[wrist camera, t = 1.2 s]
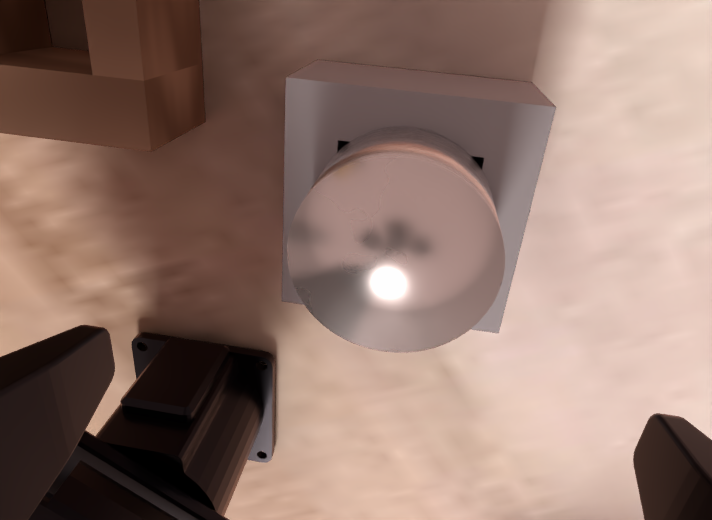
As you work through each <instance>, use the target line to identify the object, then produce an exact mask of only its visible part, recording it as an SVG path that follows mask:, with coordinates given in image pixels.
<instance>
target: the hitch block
mask: <svg viewBox="0 0 712 520" xmlns="http://www.w3.org/2000/svg"><path fill="white" fill-rule="evenodd" d="M82 5H83V12H84V19H85V26H86V33H87V39H88V46H89V51H86V50H77V49H67V48H58V47H52V43H51V37H50V32H49V26H48V20H47V15H46V9H45V3H44V0H0V133H6V134H13V135H21V136H29V137H37V138H45V139H53V140H61V141H69V142H77V143H85V144H93V145H101V146H109V147H117V148H125V149H133V150H141V151H149V152H152V151H154V150H155V149H157V148H159V147H161V146H163V145H164V144H166V143H168V142H170V141H172V140H173V139H175V138H177V137H179V136H181V135H182V134H184V133H186V132H188V131H190V130H191V129H193V128H195V127H197V126H199V125H200V124H202V123H204V122H205V107H204V88H203V69H202V50H201V31H200V12H199V0H82Z"/></svg>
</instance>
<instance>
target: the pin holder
mask: <svg viewBox="0 0 712 520" xmlns="http://www.w3.org/2000/svg"><path fill="white" fill-rule="evenodd" d="M555 109H556V106H555V105H554V104H553V103H552V102H551V101H550V100H549V99H548V98H547V97H546V96H545V95H544V94H543V93H542V92H541V91H540V90H539V89H538V88H537V87H536V86H535V85H534V84H533V83H532V82H522V81H513V80H504V79H494V78H485V77H475V76H466V75H456V74H447V73H437V72H428V71H419V70H409V69H400V68H390V67H381V66H371V65H362V64H352V63H343V62H333V61H324V60H316V61H314V62H312V63H311V64H309V65H307V66H305V67H303V68H302V69H300V70H298V71H296V72H295V73H293V74H291V75H289V76H287V77H286V89H285V145H284V202H283V258H282V301H284V302H291V303H297V304H304V303H303V302H302V300H301V299H300V297H299V295H298V293H297V291H296V289H295V287H294V285H293V282H292V279H291V276H290V272H289V267H288V262H287V243H288V235H289V231H290V227H291V223H292V221H293V219H294V216H295V214H296V212H297V210H298V208H299V207H300V205H301V203H302V202H303V200H304V198H305V197H306V195H307V194H308V192H309V191H310V189H311V188H312V186H313V185H314V183H315V182H316V180H317V179H318V177H319V176H320V174H321V173H322V171H323V170H324V168H325V167H326V165H327V164H328V162H329V161H330V160H331V159H332V157H333V156H334V155H335V154H336V153H337V152H338V151H339V150H340V149H341V148H342V147H343V146H345V145H346V144H348V143H349V142H350V141H352V140H353V139H355V138H357V137H359V136H361V135H363V134H365V133H368V132H371V131H373V130H377V129H381V128H386V127H395V126H409V127H418V128H423V129H427V130H430V131H433V132H437V133H439V134H441V135H443V136H445V137H447V138H450V139H451V140H453V141H454V142H456V143H457V144H459V145H460V146H461V147H462V148H464V149H465V150H466V151H467V152H468V153H469V154H470V155H471V156H472V157H473V158H474V160H475V161H476V162H477V163H478V165H479V166H480V168H481V169H482V171H483V172H484V174H485V176H486V179H487V181H488V183H489V186H490V189H491V193H492V196H493V200H494V204H495V209H496V213H497V217H498V221H499V225H500V229H501V233H502V237H503V242H504V249H505V270H504V276H503V281H502V284H501V287H500V290H499V293H498V295H497V297H496V299H495V301H494V303H493V304H492V306H491V307H490V309H489V310H488V311H487V313H486V314H485V315H484V316H483V317H482V319H481V320H480V321H479V322H478V323H477V324H476V325H475V326H473V327H472V328H471V329H472V330H479V331H485V332H492V333H499V330H500V326H501V322H502V318H503V314H504V310H505V306H506V302H507V298H508V294H509V290H510V286H511V282H512V279H513V275H514V271H515V267H516V263H517V259H518V255H519V251H520V247H521V243H522V239H523V235H524V231H525V227H526V223H527V219H528V215H529V212H530V208H531V204H532V200H533V196H534V192H535V188H536V184H537V180H538V176H539V172H540V168H541V164H542V160H543V156H544V152H545V149H546V145H547V141H548V137H549V133H550V129H551V125H552V121H553V117H554V113H555Z"/></svg>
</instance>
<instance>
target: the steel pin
mask: <svg viewBox="0 0 712 520" xmlns="http://www.w3.org/2000/svg"><path fill="white" fill-rule="evenodd" d="M287 262H288V267H289V272H290V276H291V279H292V282H293V285H294V287H295V289H296V291H297V293H298V295H299V297H300V299H301V300H302V302H303V303H304V305H305V306H306V308H307V309H308V310H309V311H310V312H311V313H312V315H313V316H314V317H315V318H316V319H317V320H318V321H319V322H320V323H322V324H323V325H324V326H325V327H326V328H328V329H329V330H331V331H332V332H333V333H335V334H337V335H338V336H340V337H342V338H343V339H345V340H347V341H350V342H352V343H354V344H357V345H360V346H363V347H366V348H369V349H374V350H378V351H385V352H416V351H422V350H427V349H431V348H435V347H438V346H441V345H443V344H446V343H448V342H450V341H452V340H454V339H456V338H458V337H460V336H461V335H463V334H464V333H466V332H467V331H469V330H470V329H471V328H472V327H473V326H475V325H476V324H477V323H478V322H479V321H480V320H481V319H482V317H483V316H484V315H485V314H486V313H487V311H488V310H489V309H490V307H491V306H492V304H493V303H494V301H495V299H496V297H497V295H498V293H499V290H500V287H501V284H502V281H503V276H504V270H505V249H504V242H503V237H502V233H501V229H500V225H499V221H498V217H497V213H496V209H495V204H494V200H493V196H492V193H491V189H490V186H489V183H488V181H487V179H486V176H485V174H484V172H483V171H482V169H481V168H480V166H479V165H478V163H477V162H476V161H475V160H474V158H473V157H472V156H471V155H470V154H469V153H468V152H467V151H466V150H465V149H464V148H462V147H461V146H460V145H459V144H457V143H456V142H454V141H453V140H451V139H450V138H447V137H445V136H443V135H441V134H439V133H437V132H433V131H430V130H427V129H423V128H418V127H409V126H395V127H386V128H381V129H377V130H373V131H371V132H368V133H365V134H363V135H361V136H359V137H357V138H355V139H353V140H352V141H350V142H349V143H348V144H346V145H345V146H343V147H342V148H341V149H340V150H339V151H338V152H337V153H336V154H335V155H334V156H333V157H332V159H331V160H330V161H329V162H328V164H327V165H326V167H325V168H324V170H323V171H322V173H321V174H320V176H319V177H318V179H317V180H316V182H315V183H314V185H313V186H312V188H311V189H310V191H309V192H308V194H307V195H306V197H305V198H304V200H303V202H302V203H301V205H300V207H299V208H298V210H297V212H296V214H295V216H294V219H293V221H292V223H291V227H290V231H289V235H288V243H287Z"/></svg>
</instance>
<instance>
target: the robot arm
mask: <svg viewBox="0 0 712 520" xmlns="http://www.w3.org/2000/svg"><path fill="white" fill-rule="evenodd" d="M142 342H143V343H145V344H146V345H147V346H146V345H144V344H143V343H142ZM132 351H133V358H134V365H135V372H136V381H135V382H134V383H133V385H132V386H131V387H130V388H129V390H128V391H127V392H126V393H125V395H124V396H123V397H122V399H121V401H120V402H121V404H120V405H119V406H118V408H117V409H116V410H115V412H114V413H113V414H112V415H111V417H110V418H109V419H108V421H107V422H106V423H105V424H104V426H103V427H102V428H101V430H100V431H99V432H98V433H97V435H96V436H94V435H92V434H91V433H89V432H87V431H86V430H85V429H86V428H87V426H88V424H89V422H90V420H91V418H92V416H93V415H94V413H95V411H96V409H97V407H98V405H99V403H100V402H101V400H102V398H103V396H104V394H105V392H106V390H107V388H108V387H109V385H110V383H111V381H112V379H113V376H114V372H115V363H114V357H113V351H112V345H111V339H110V334H109V332H108V331H107V329H105V328H103V327H97V326H90V325H80V326H77V327H75V328H72V329H70V330H67V331H65V332H62V333H60V334H57V335H55V336H52V337H50V338H47V339H45V340H42V341H40V342H37V343H35V344H32V345H29V346H27V347H24V348H22V349H19V350H17V351H14V352H12V353H9V354H7V355H4V356H2V357H0V520H229V519H227V518H226V517H224V515H225V512H226V510H227V507H228V505H229V503H230V500H231V498H232V495H233V493H234V491H235V488H236V486H237V483H238V481H239V478H240V476H241V474H242V471H243V469H244V466H245V464H246V462H247V460H252V461H257V462H269V461H270V460H271V459H272V456H273V453H274V431H275V358H274V357H273V356H272V355H271V354H270V353H268V352H265V351H259V350H253V349H247V348H240V347H234V346H228V345H221V344H215V343H209V342H203V341H196V340H190V339H184V338H177V337H171V336H165V335H158V334H152V333H146V332H143V333H139V334H138V335H137V336H136V337H135V338H134V339H133V341H132ZM259 361H262V362H265V363H266V364H267V365H263V364H261V363H260V362H259ZM262 451H263V452H262ZM264 452H265V453H264ZM633 462H634V469H635V474H636V479H637V484H638V489H639V494H640V499H641V504H642V509H643V514H644V519H645V520H712V440H711V439H710V438H708V437H707V436H706V435H704V434H703V433H702V432H701V431H699V430H698V429H697V428H696V427H694V426H693V425H692V424H691V423H689V422H688V421H687V420H685V419H684V418H682V417H679V416H673V415H666V414H660V413H657V414H653V415H652V416H651V417H650V418H649V420H648V422H647V424H646V426H645V428H644V430H643V433H642V435H641V437H640V439H639V442H638V444H637V446H636V448H635V451H634V458H633Z"/></svg>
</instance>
